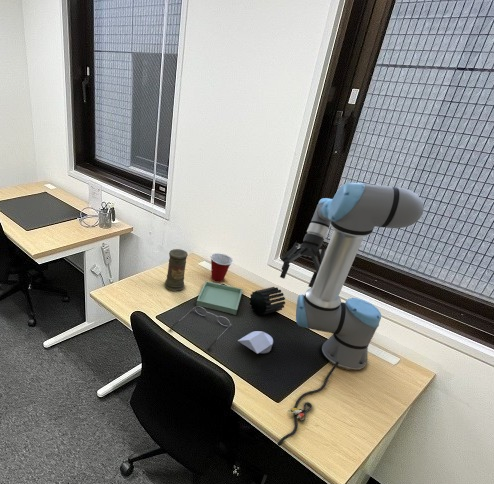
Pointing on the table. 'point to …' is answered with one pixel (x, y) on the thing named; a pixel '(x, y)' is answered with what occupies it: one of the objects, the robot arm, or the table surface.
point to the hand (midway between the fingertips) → (295, 282)
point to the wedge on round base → (257, 342)
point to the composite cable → (301, 411)
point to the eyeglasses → (205, 315)
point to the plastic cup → (220, 266)
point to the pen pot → (266, 301)
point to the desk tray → (219, 297)
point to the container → (176, 270)
